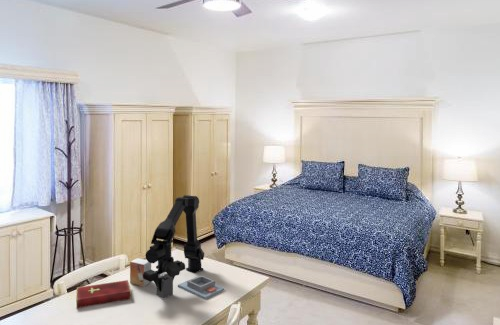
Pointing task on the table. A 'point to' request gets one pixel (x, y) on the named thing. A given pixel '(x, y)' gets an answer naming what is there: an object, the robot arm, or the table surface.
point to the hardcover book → (103, 293)
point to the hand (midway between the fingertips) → (164, 289)
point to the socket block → (201, 287)
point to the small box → (139, 271)
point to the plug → (165, 286)
